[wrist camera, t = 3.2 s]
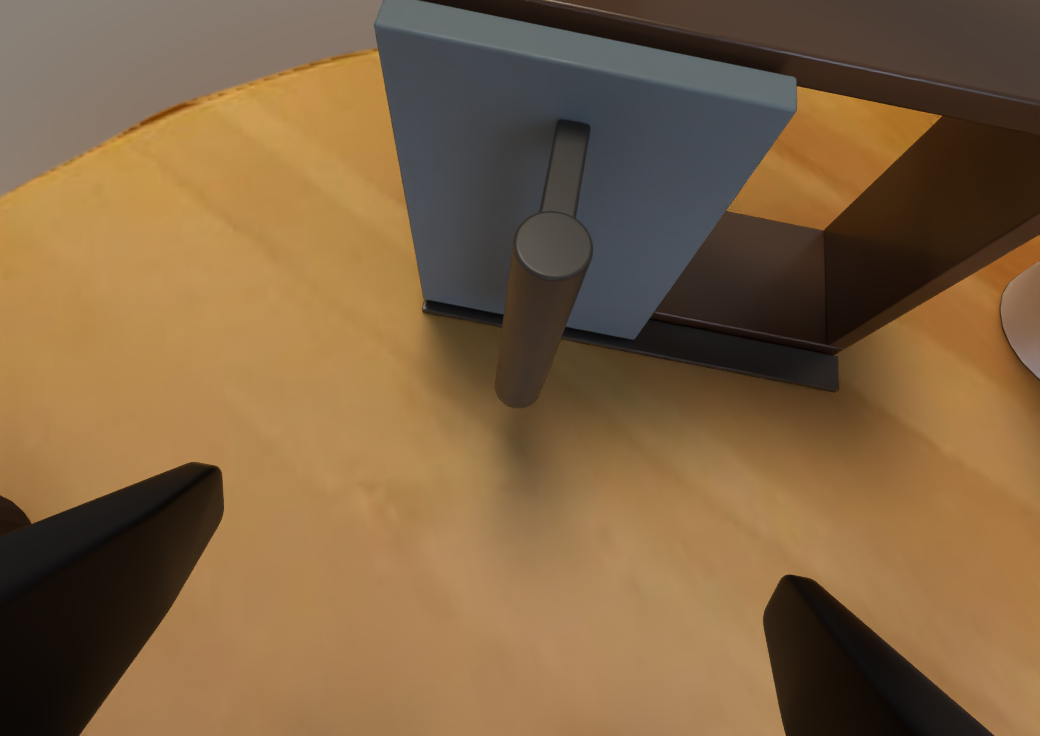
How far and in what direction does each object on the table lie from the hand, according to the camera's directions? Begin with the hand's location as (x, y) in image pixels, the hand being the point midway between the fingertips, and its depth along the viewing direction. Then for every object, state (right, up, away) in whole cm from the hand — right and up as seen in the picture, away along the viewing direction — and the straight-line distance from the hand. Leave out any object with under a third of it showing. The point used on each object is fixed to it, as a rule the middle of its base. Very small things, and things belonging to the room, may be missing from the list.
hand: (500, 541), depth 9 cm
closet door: (0, +3, +13) cm, 14 cm away
